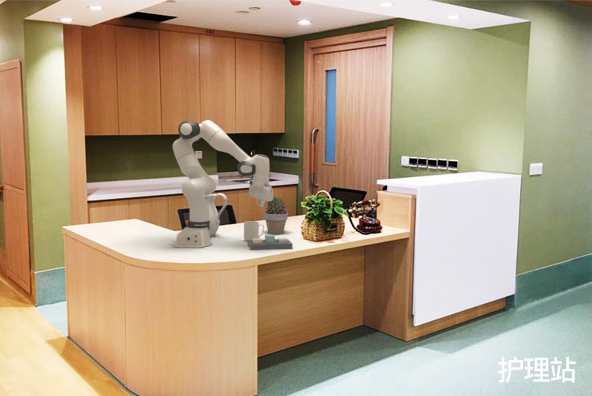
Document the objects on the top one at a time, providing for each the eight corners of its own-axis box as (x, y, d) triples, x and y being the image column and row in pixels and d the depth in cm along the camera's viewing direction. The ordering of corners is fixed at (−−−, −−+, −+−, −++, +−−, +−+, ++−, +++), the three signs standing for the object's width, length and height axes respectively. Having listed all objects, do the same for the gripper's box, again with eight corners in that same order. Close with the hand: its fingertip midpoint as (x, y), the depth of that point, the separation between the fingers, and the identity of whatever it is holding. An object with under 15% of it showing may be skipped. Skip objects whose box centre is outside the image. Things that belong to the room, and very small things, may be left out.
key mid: (266, 243, 340) (266, 236, 340) (264, 241, 345) (264, 234, 345) (274, 243, 342) (275, 236, 341) (273, 241, 346) (273, 234, 346)
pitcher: (186, 236, 368) (186, 191, 364) (202, 231, 383) (202, 188, 379) (218, 240, 357) (218, 194, 353) (233, 235, 372) (233, 191, 368)
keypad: (250, 250, 335) (250, 244, 334) (247, 245, 347) (247, 239, 347) (292, 248, 340) (292, 243, 340) (287, 243, 353) (287, 238, 352)
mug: (244, 242, 355) (244, 223, 353) (243, 239, 364) (243, 221, 362) (264, 241, 357) (264, 223, 355) (262, 238, 366) (263, 221, 364)
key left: (253, 246, 339) (253, 240, 338) (252, 245, 344) (252, 238, 343) (261, 246, 340) (262, 239, 340) (260, 244, 345) (260, 238, 344)
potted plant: (291, 230, 394) (292, 192, 391) (288, 236, 375) (289, 197, 371) (264, 229, 396) (265, 192, 392) (259, 235, 377) (260, 196, 373)
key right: (279, 246, 342) (279, 239, 342) (277, 244, 347) (277, 237, 347) (287, 245, 343) (287, 239, 343) (285, 244, 348) (285, 237, 348)
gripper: (276, 184, 333) (275, 209, 335) (256, 180, 349) (256, 203, 351) (266, 185, 329) (266, 209, 331) (247, 181, 346) (246, 204, 348)
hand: (260, 206), depth 341 cm, fingers closed
